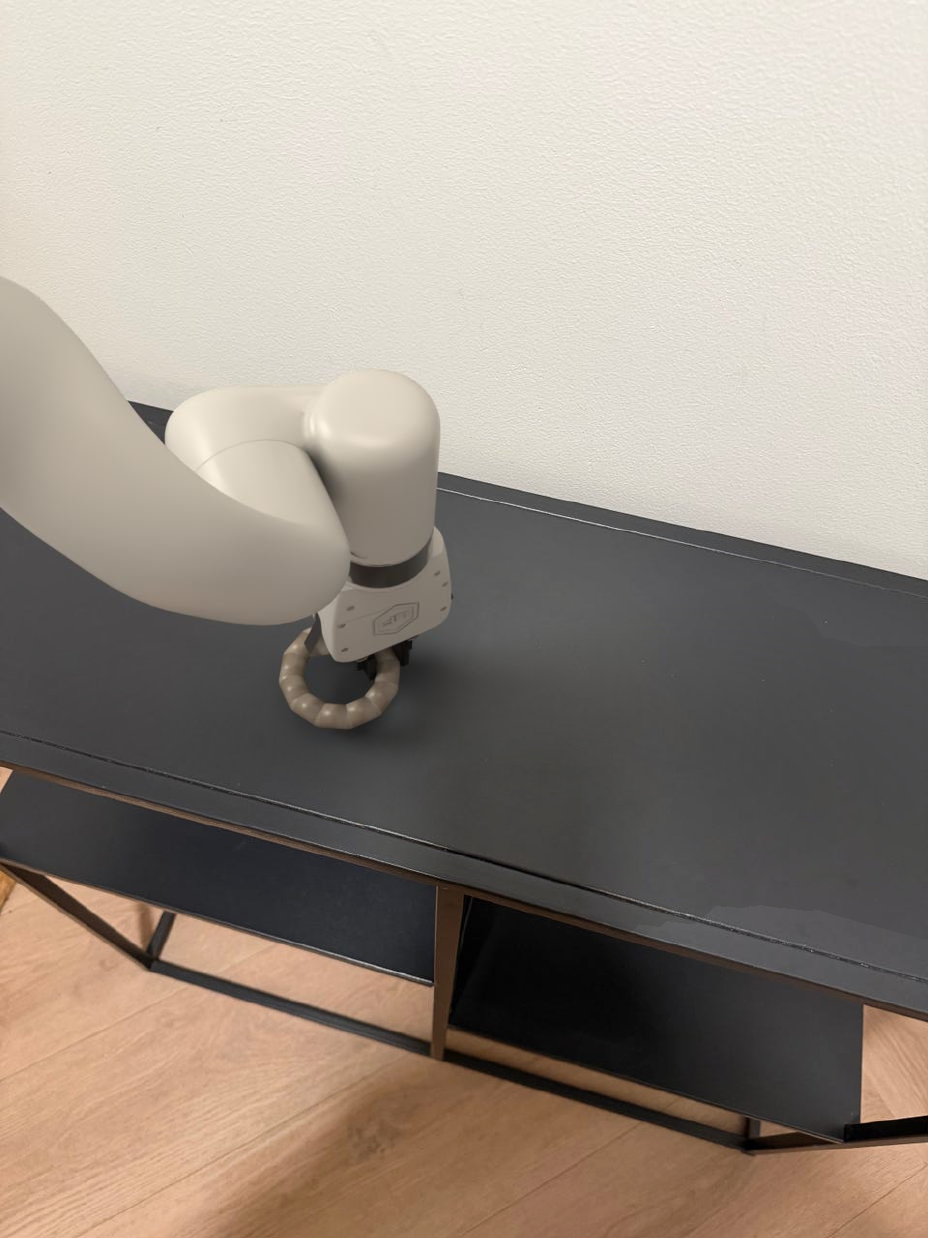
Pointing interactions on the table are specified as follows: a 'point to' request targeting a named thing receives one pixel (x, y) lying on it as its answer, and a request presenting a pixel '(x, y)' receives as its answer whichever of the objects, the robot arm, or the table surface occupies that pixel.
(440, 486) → the table surface
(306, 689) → the ring
